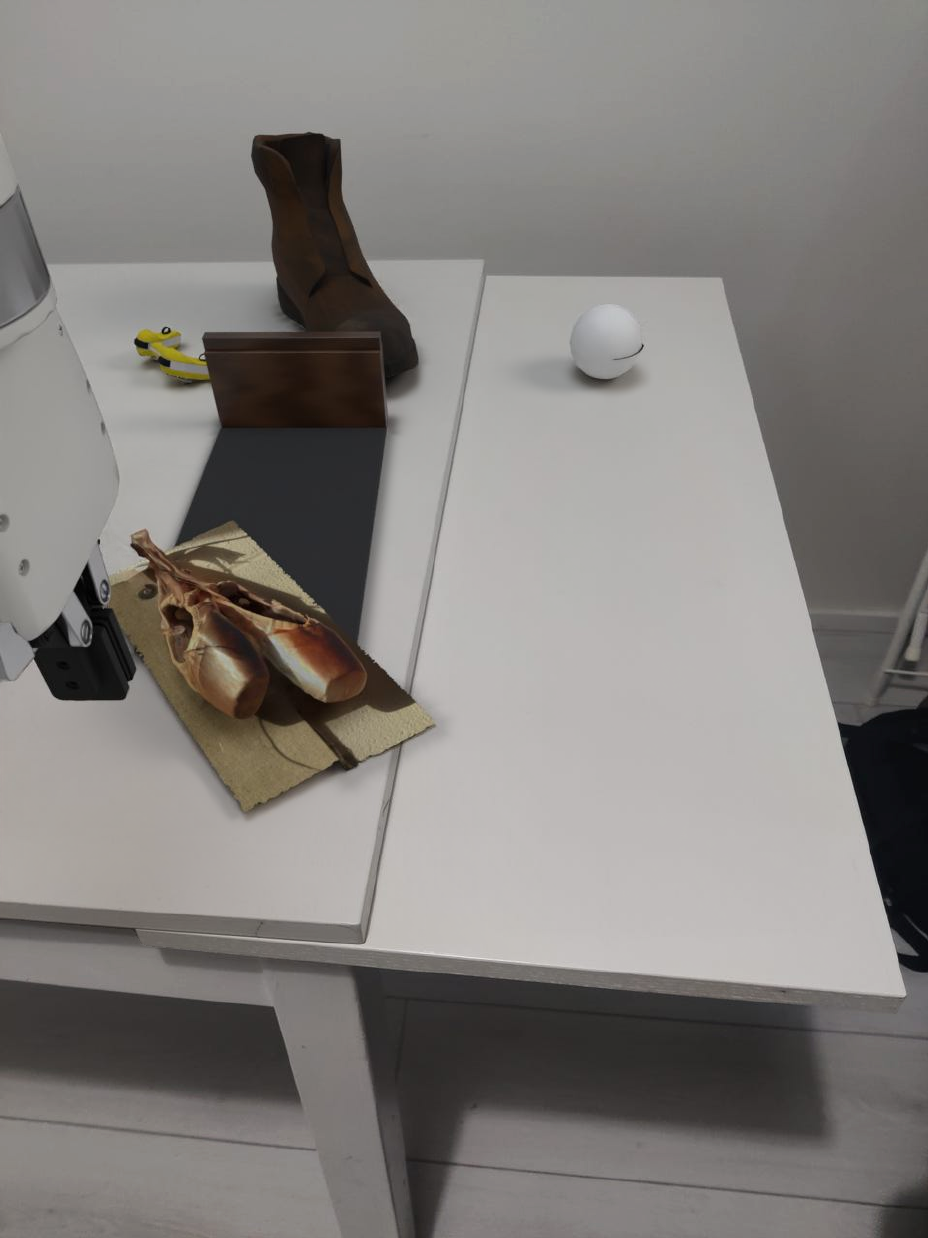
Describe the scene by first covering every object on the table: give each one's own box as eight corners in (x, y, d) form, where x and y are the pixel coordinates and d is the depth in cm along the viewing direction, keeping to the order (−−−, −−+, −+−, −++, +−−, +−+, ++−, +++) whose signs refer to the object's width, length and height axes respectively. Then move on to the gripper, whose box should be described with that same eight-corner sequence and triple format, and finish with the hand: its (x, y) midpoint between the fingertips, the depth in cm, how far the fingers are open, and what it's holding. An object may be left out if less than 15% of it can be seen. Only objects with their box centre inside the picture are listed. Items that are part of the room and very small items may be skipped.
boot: (350, 411, 87) (325, 201, 73) (257, 296, 106) (224, 111, 92) (449, 384, 90) (444, 179, 76) (342, 277, 109) (322, 97, 95)
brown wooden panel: (221, 429, 85) (200, 339, 78) (225, 418, 86) (205, 329, 80) (386, 428, 84) (379, 339, 78) (388, 417, 86) (381, 329, 79)
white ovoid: (595, 400, 88) (602, 330, 83) (553, 368, 92) (558, 301, 87) (673, 374, 91) (684, 306, 86) (629, 345, 96) (637, 279, 91)
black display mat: (135, 653, 63) (134, 650, 63) (221, 430, 84) (220, 427, 84) (355, 653, 63) (355, 650, 63) (386, 430, 84) (386, 427, 84)
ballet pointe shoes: (239, 781, 48) (42, 530, 63) (263, 842, 52) (75, 595, 68) (434, 655, 53) (211, 453, 68) (440, 720, 58) (230, 518, 73)
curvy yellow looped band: (122, 354, 93) (125, 321, 92) (177, 357, 98) (181, 325, 96) (167, 389, 88) (171, 355, 86) (223, 390, 92) (228, 358, 91)
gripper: (-100, 184, 31) (69, 574, 44) (-405, 404, 20) (-63, 835, 33) (110, 182, 31) (218, 574, 44) (-85, 402, 20) (134, 836, 33)
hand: (97, 686), depth 38 cm, fingers closed
